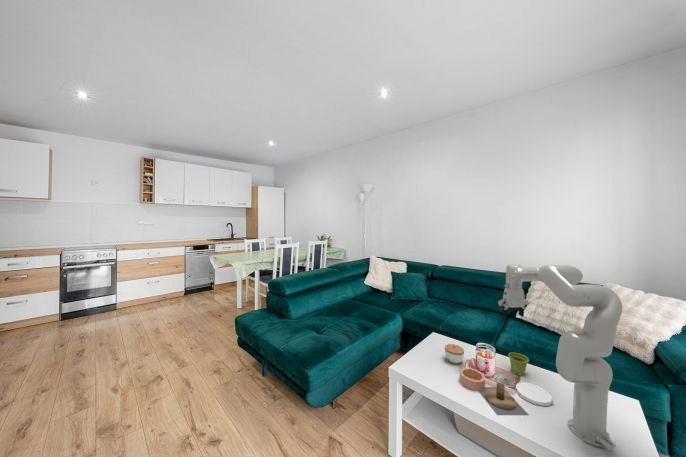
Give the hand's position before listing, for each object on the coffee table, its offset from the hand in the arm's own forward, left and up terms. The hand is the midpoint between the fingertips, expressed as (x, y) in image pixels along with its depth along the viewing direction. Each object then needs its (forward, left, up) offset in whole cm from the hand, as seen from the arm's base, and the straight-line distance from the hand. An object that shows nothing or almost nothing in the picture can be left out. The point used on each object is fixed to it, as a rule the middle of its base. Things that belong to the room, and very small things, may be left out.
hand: (512, 315), depth 142 cm
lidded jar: (+7, +30, -31) cm, 44 cm away
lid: (-26, +23, -30) cm, 46 cm away
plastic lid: (-23, +5, -31) cm, 39 cm away
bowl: (-14, +30, -31) cm, 45 cm away
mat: (-26, +23, -31) cm, 46 cm away
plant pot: (-4, -1, -31) cm, 31 cm away
